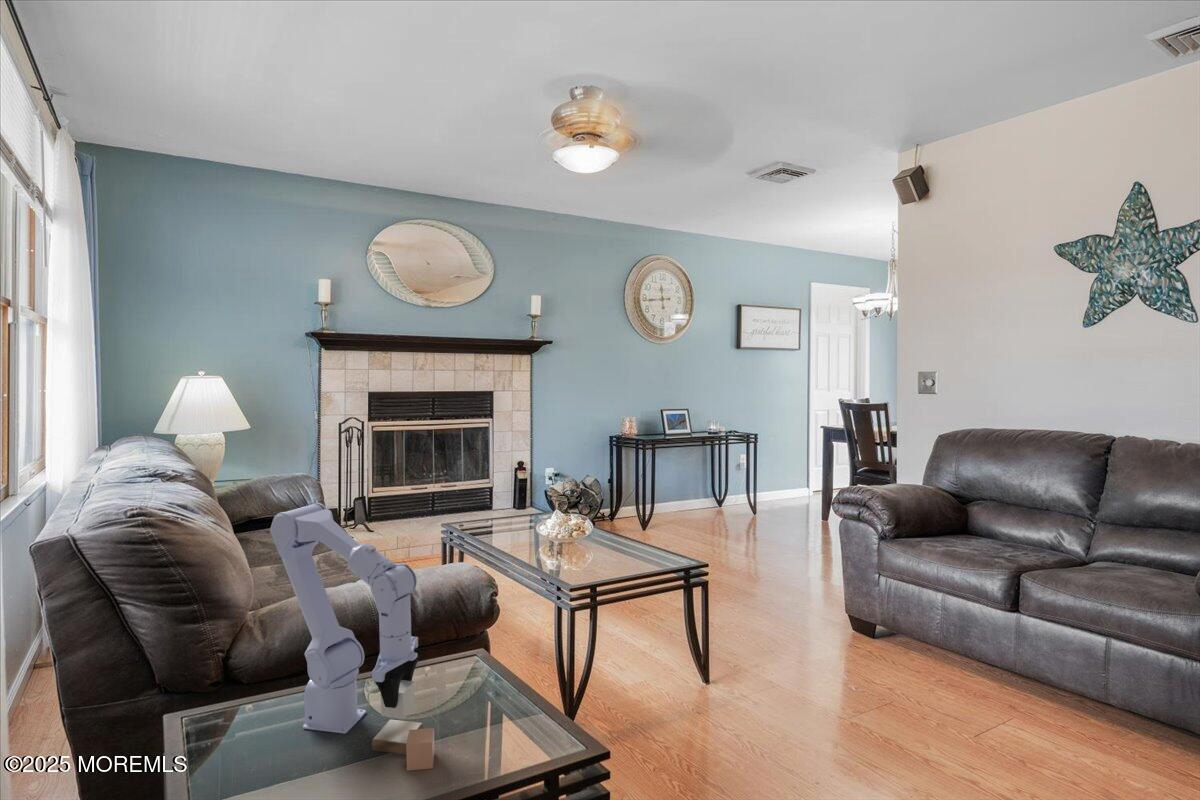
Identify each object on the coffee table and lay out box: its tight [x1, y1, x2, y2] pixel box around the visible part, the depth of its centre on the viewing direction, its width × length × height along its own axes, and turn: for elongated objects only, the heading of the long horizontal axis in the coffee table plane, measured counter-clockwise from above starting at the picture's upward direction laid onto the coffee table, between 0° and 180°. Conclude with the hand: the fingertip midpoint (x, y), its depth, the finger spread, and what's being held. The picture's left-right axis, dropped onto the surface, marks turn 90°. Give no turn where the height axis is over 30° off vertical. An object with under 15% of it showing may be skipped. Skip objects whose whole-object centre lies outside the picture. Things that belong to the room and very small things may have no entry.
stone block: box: [380, 680, 415, 720], centre depth 133 cm, size 4×4×5 cm
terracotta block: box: [405, 727, 436, 771], centre depth 128 cm, size 4×4×5 cm
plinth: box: [371, 718, 424, 755], centre depth 134 cm, size 7×7×2 cm
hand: (397, 699), depth 133 cm, fingers closed on stone block, 4 cm apart
